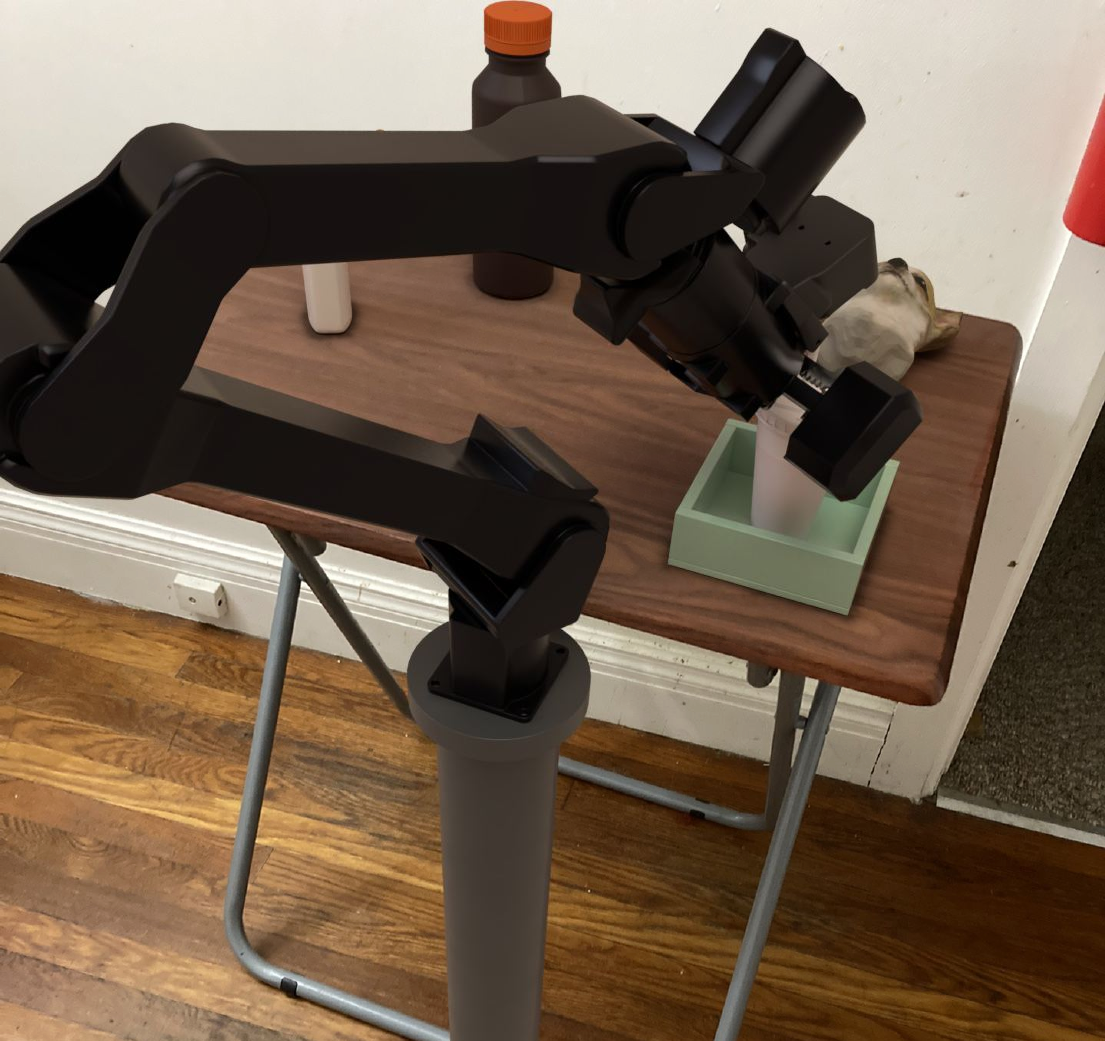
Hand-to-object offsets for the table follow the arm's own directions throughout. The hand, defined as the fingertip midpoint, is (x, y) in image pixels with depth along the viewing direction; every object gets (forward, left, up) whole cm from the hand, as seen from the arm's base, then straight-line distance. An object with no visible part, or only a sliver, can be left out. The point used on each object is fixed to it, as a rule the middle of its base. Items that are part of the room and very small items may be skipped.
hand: (817, 432), depth 71 cm
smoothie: (-1, +1, -7) cm, 7 cm away
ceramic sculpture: (+24, 0, -8) cm, 25 cm away
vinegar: (+23, +30, +3) cm, 38 cm away
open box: (-1, +1, -7) cm, 8 cm away
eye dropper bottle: (+11, +41, -8) cm, 43 cm away
